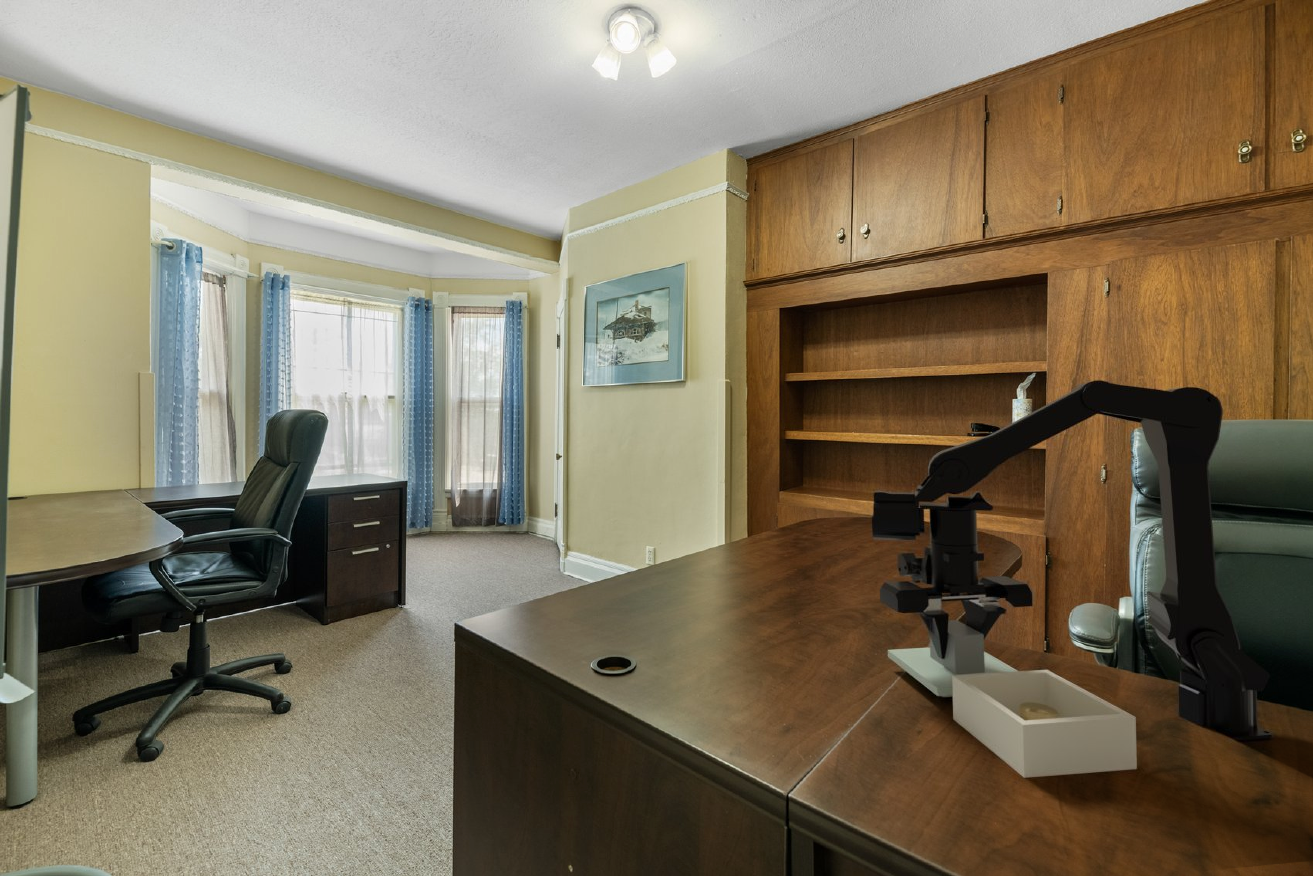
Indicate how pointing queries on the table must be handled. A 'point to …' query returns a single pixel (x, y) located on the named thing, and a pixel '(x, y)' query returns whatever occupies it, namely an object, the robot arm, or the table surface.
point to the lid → (949, 659)
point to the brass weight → (1037, 711)
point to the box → (1044, 724)
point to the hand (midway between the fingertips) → (956, 657)
